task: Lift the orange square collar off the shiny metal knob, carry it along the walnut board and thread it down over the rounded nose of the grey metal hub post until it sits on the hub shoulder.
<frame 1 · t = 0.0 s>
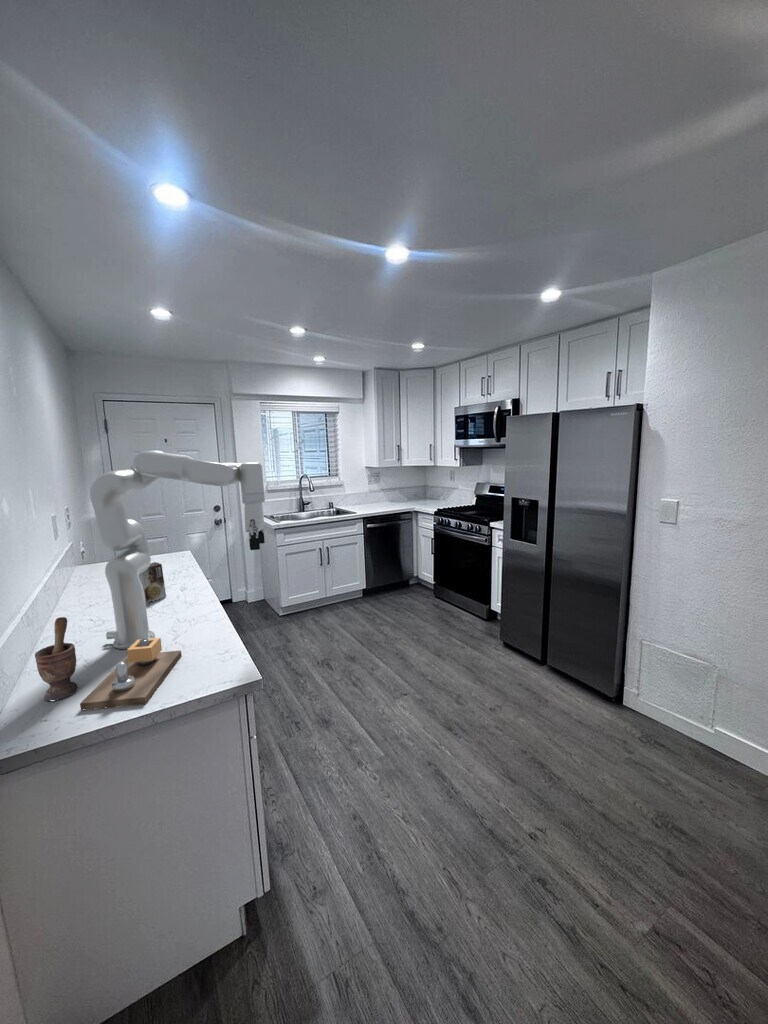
hand: (257, 546, 149), 31 cm above the countertop, tool pointing down, fingers open, 9 cm apart
shiny metal knob: (147, 668, 130), resting on board
mortar and pestle: (62, 691, 119), on the countertop
coffee box: (153, 599, 192), on the countertop
collar: (145, 655, 129), point 4 cm above the countertop, touching shiny metal knob
hub: (125, 694, 116), resting on board
board: (136, 680, 123), on the countertop
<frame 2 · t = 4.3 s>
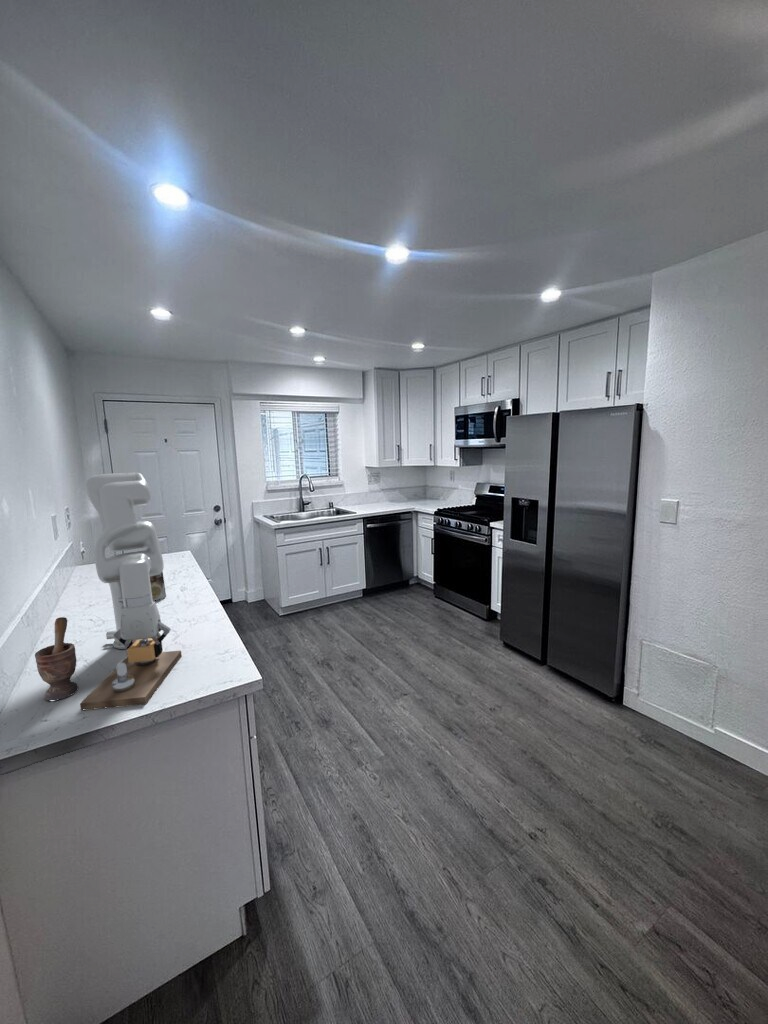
hand: (145, 655, 129), 4 cm above the countertop, tool pointing down, fingers closed on collar, 6 cm apart
collar: (145, 655, 129), point 4 cm above the countertop, touching gripper, shiny metal knob
everything else where it was.
when the fingers open (5 cm above the countertop, at t = 12.8 s): collar drops 1 cm, resting on hub.
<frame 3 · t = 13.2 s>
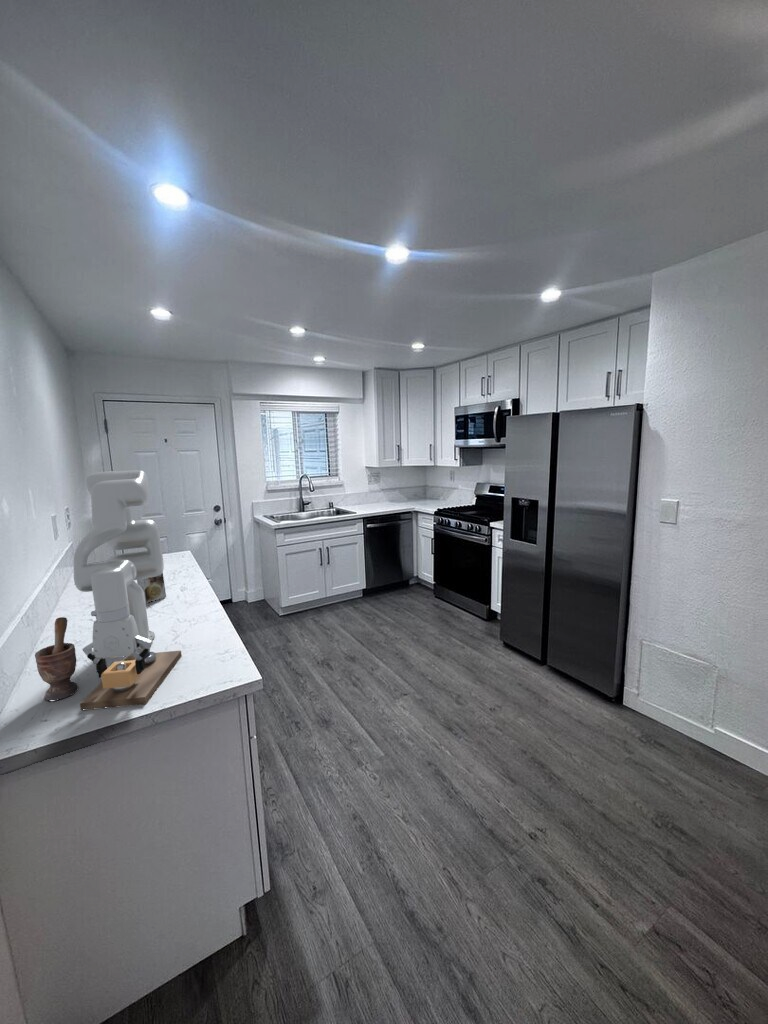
hand: (122, 673, 115), 6 cm above the countertop, tool pointing down, fingers open, 9 cm apart
collar: (123, 680, 115), point 4 cm above the countertop, touching hub
everything else where it was.
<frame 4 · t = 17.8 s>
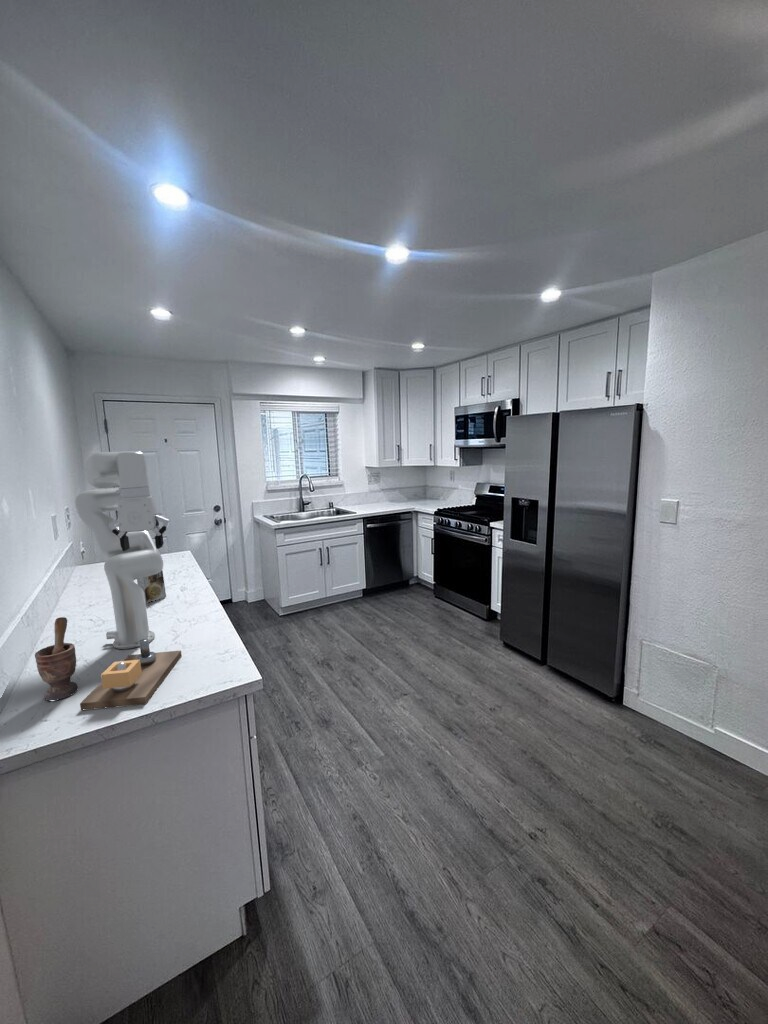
hand: (142, 548, 129), 36 cm above the countertop, tool pointing down, fingers open, 9 cm apart
nothing on the countertop moved.
at the end: collar 0.1 cm from the hub (horizontally); collar point 4.0 cm above the countertop; the gripper is holding nothing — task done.
